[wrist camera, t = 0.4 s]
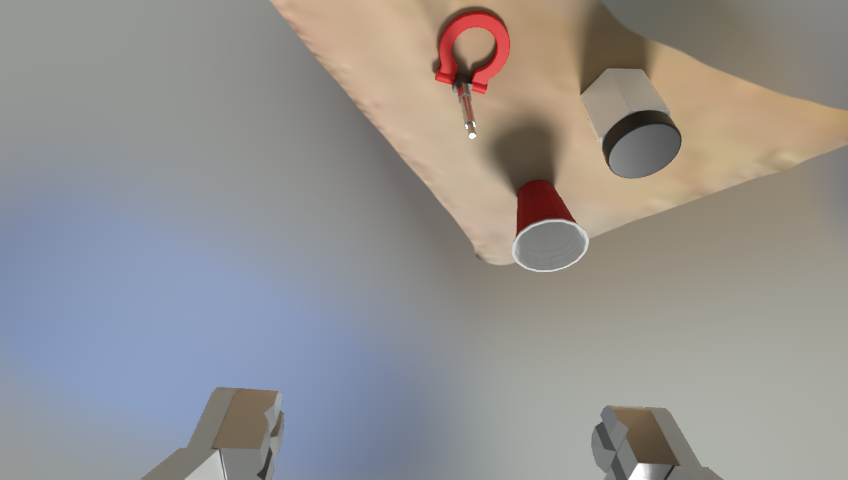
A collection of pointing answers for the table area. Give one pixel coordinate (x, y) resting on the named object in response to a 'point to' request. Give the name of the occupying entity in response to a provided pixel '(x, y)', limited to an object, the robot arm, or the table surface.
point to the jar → (630, 123)
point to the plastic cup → (546, 230)
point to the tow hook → (481, 75)
